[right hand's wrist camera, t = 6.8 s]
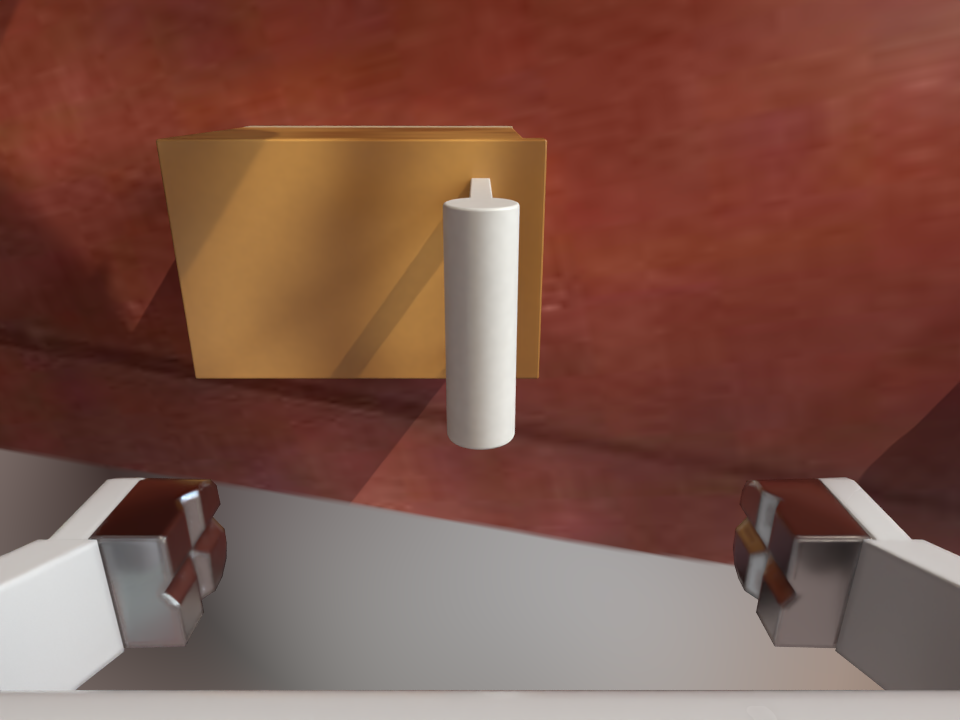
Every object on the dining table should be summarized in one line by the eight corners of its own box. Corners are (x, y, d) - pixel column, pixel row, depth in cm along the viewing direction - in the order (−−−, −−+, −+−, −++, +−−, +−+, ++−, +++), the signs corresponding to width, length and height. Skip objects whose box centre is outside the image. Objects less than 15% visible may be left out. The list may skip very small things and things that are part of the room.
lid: (544, 138, 25) (578, 159, 16) (537, 370, 28) (561, 486, 20) (165, 137, 25) (7, 159, 16) (203, 371, 28) (87, 486, 20)
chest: (511, 126, 34) (523, 137, 25) (508, 302, 37) (518, 370, 28) (250, 125, 34) (165, 137, 25) (271, 302, 37) (203, 370, 28)
